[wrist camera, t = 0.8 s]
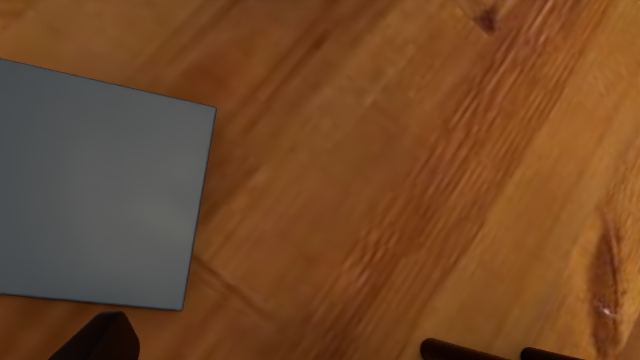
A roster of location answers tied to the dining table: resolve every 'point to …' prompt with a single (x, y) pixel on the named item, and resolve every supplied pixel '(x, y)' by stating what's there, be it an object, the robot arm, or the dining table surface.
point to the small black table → (479, 353)
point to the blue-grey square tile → (98, 189)
